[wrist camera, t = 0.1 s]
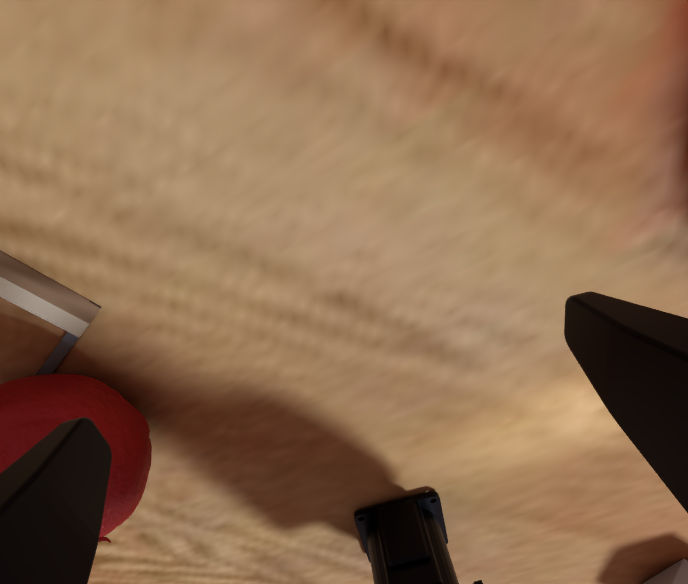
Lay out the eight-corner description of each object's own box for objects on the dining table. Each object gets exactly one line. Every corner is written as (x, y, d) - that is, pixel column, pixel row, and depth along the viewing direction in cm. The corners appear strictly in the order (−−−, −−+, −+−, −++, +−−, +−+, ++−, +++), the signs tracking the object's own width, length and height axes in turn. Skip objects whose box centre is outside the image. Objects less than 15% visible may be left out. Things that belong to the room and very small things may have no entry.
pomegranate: (126, 330, 24) (48, 479, 16) (188, 455, 29) (153, 616, 21) (-61, 368, 23) (-238, 540, 15) (35, 488, 29) (-61, 663, 21)
